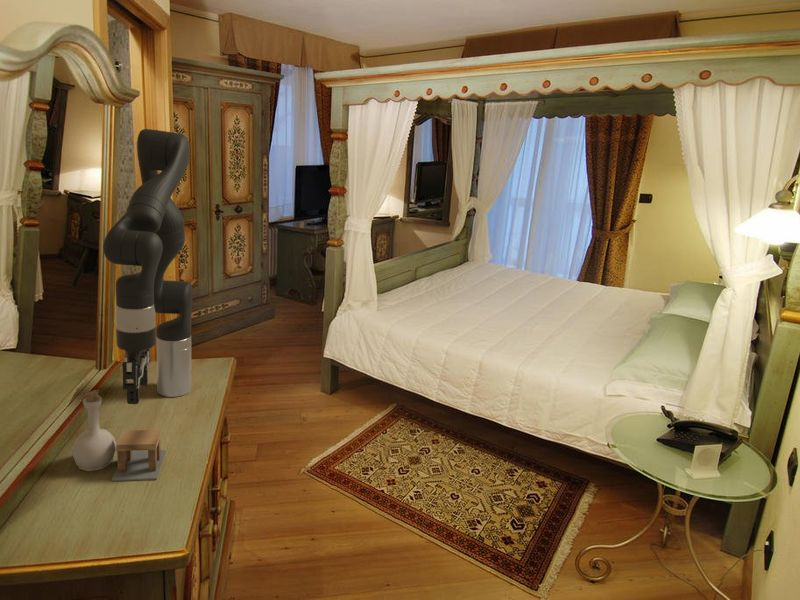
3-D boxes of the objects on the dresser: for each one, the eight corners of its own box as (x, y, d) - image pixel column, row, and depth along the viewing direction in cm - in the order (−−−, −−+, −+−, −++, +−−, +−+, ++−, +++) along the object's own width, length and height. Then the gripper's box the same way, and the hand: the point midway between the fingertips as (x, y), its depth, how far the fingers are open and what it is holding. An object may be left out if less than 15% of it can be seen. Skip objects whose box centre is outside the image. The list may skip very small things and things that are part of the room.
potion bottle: (98, 477, 117) (95, 403, 112) (63, 468, 119) (58, 394, 114) (126, 456, 126) (124, 386, 121) (92, 448, 127) (89, 378, 122)
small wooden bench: (161, 456, 126) (161, 429, 124) (156, 471, 121) (155, 444, 119) (124, 457, 124) (123, 430, 122) (117, 472, 119) (116, 445, 117)
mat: (124, 452, 127) (124, 451, 127) (165, 451, 129) (165, 450, 129) (111, 481, 116) (111, 479, 116) (156, 479, 119) (156, 478, 119)
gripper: (148, 337, 107) (149, 410, 112) (161, 313, 120) (162, 379, 125) (106, 336, 105) (110, 410, 110) (124, 312, 119) (127, 379, 123)
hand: (138, 393), depth 118 cm, fingers open, 8 cm apart
